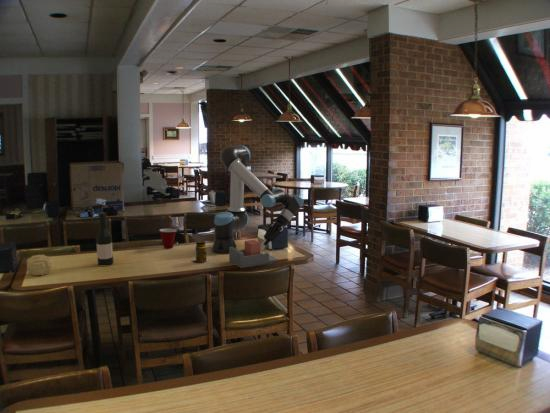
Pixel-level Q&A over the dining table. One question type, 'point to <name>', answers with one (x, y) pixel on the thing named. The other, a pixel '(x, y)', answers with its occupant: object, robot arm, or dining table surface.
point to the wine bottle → (104, 243)
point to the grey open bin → (249, 258)
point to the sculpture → (38, 265)
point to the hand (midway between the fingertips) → (260, 248)
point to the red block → (252, 247)
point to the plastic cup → (168, 237)
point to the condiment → (200, 253)
